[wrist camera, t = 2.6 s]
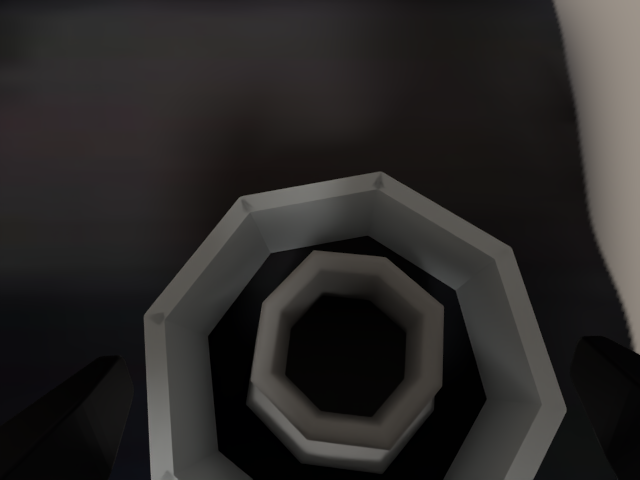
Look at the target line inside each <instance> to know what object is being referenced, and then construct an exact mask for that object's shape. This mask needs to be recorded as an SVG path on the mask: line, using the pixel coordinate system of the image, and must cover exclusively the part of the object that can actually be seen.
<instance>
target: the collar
mask: <svg viewBox="0 0 640 480" xmlns="http://www.w3.org/2000/svg"><path fill="white" fill-rule="evenodd" d="M362 236H370V237H371V238H373V239H375V240H376V241H378V242H379V243H381V244H382V245H384V246H386V247H387V248H389V249H390V250H392V251H394V252H395V253H397V254H398V255H400V256H402V257H403V258H405V259H406V260H408V261H410V262H411V263H413V264H414V265H416V266H418V267H419V268H421V269H422V270H424V271H426V272H427V273H429V274H430V275H432V276H434V277H435V278H437V279H438V280H440V281H441V282H443V283H445V284H446V285H448V286H449V287H451V288H453V289H454V290H456V293H457V297H458V300H459V304H460V307H461V311H462V314H463V318H464V321H465V325H466V328H467V332H468V335H469V339H470V342H471V346H472V349H473V353H474V356H475V360H476V363H477V367H478V370H479V374H480V377H481V381H482V384H483V388H484V391H485V394H486V398H487V400H486V402H485V404H484V406H483V407H482V409H481V411H480V413H479V415H478V417H477V418H476V420H475V422H474V424H473V426H472V428H471V429H470V431H469V433H468V435H467V437H466V439H465V440H464V442H463V444H462V446H461V448H460V450H459V451H458V453H457V455H456V457H455V459H454V461H453V462H452V464H451V466H450V468H449V470H448V472H447V473H446V475H445V477H444V479H443V480H533V479H534V477H535V475H536V473H537V471H538V469H539V466H540V464H541V462H542V460H543V458H544V456H545V454H546V452H547V450H548V448H549V446H550V444H551V442H552V440H553V438H554V436H555V434H556V432H557V430H558V428H559V426H560V424H561V422H562V420H563V418H564V415H565V413H566V409H567V408H566V405H565V402H564V400H563V397H562V394H561V391H560V388H559V385H558V382H557V379H556V376H555V373H554V370H553V367H552V364H551V361H550V358H549V356H548V353H547V350H546V347H545V344H544V341H543V338H542V335H541V332H540V329H539V326H538V323H537V320H536V317H535V315H534V312H533V309H532V306H531V303H530V300H529V297H528V294H527V291H526V288H525V285H524V282H523V279H522V276H521V274H520V271H519V268H518V265H517V262H516V259H515V256H514V253H513V250H512V248H511V247H510V246H508V245H506V244H505V243H503V242H501V241H499V240H498V239H496V238H494V237H493V236H491V235H489V234H487V233H486V232H484V231H482V230H481V229H479V228H477V227H475V226H474V225H472V224H470V223H469V222H467V221H465V220H464V219H462V218H460V217H458V216H457V215H455V214H453V213H452V212H450V211H448V210H446V209H445V208H443V207H441V206H440V205H438V204H436V203H434V202H433V201H431V200H429V199H428V198H426V197H424V196H422V195H421V194H419V193H417V192H416V191H414V190H412V189H411V188H409V187H407V186H405V185H404V184H402V183H400V182H399V181H397V180H395V179H393V178H392V177H390V176H388V175H387V174H385V173H383V172H381V171H380V172H374V173H369V174H363V175H358V176H352V177H347V178H341V179H335V180H330V181H324V182H319V183H313V184H307V185H302V186H296V187H291V188H285V189H279V190H274V191H268V192H263V193H257V194H252V195H246V196H241V197H239V199H238V200H237V201H236V202H235V204H234V205H233V206H232V207H231V208H230V210H229V211H228V212H227V213H226V215H225V216H224V217H223V218H222V220H221V221H220V222H219V223H218V224H217V226H216V227H215V228H214V229H213V231H212V232H211V233H210V234H209V236H208V237H207V238H206V239H205V241H204V242H203V243H202V244H201V245H200V247H199V248H198V249H197V250H196V252H195V253H194V254H193V255H192V257H191V258H190V259H189V260H188V261H187V263H186V264H185V265H184V266H183V268H182V269H181V270H180V271H179V273H178V274H177V275H176V276H175V278H174V279H173V280H172V281H171V282H170V284H169V285H168V286H167V287H166V289H165V290H164V291H163V292H162V294H161V295H160V296H159V297H158V298H157V300H156V301H155V302H154V303H153V305H152V306H151V307H150V308H149V310H148V311H147V312H146V313H145V316H144V331H145V353H146V375H147V397H148V420H149V442H150V464H151V480H253V479H252V478H251V477H250V476H248V475H247V474H246V473H245V472H243V471H242V470H241V469H240V468H239V467H237V466H236V465H235V464H234V463H233V462H231V461H230V460H229V459H228V458H226V457H225V456H224V455H223V454H222V453H220V452H219V451H218V442H217V431H216V420H215V409H214V398H213V387H212V376H211V366H210V355H209V344H208V335H209V334H210V333H211V331H212V330H213V329H214V328H215V326H216V325H217V324H218V322H219V321H220V320H221V318H222V317H223V316H224V314H225V313H226V312H227V310H228V309H229V308H230V306H231V305H232V304H233V302H234V301H235V300H236V298H237V297H238V296H239V294H240V293H241V292H242V291H243V289H244V288H245V287H246V285H247V284H248V283H249V281H250V280H251V279H252V277H253V276H254V275H255V273H256V272H257V271H258V269H259V268H260V267H261V265H262V264H263V263H264V261H265V260H266V259H267V257H268V256H269V255H270V253H275V252H280V251H286V250H291V249H297V248H302V247H307V246H313V245H318V244H324V243H329V242H335V241H340V240H346V239H351V238H357V237H362ZM510 248H511V249H510Z"/></svg>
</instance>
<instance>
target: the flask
mask: <svg viewBox="0 0 640 480" xmlns="http://www.w3.org/2000/svg"><path fill="white" fill-rule="evenodd" d="M443 325H444V306H443V305H441V304H440V303H439V302H438V301H437V300H436V299H434V298H433V297H432V296H431V295H430V294H429V293H427V292H426V291H425V290H424V289H423V288H421V287H420V286H419V285H418V284H417V283H416V282H414V281H413V280H412V279H411V278H410V277H409V276H407V275H406V274H405V273H404V272H403V271H401V270H400V269H399V268H398V267H397V266H396V265H394V264H393V263H392V262H391V261H390V260H389V259H387V258H386V257H379V256H368V255H358V254H347V253H337V252H326V251H316V250H313V251H312V252H311V253H310V255H309V256H308V257H307V258H306V259H305V260H304V261H303V262H302V263H301V264H300V265H299V266H298V267H297V268H296V269H295V270H294V271H293V272H292V273H291V274H290V275H289V276H288V277H287V278H286V279H285V280H284V281H283V282H282V283H281V284H280V285H279V286H278V287H277V288H276V289H275V290H274V291H273V292H272V293H271V294H270V295H269V296H268V297H267V299H266V300H265V301H264V302H263V303H262V309H261V315H260V321H259V325H258V328H257V335H256V341H255V348H254V354H253V360H252V367H251V373H250V380H249V386H248V393H247V399H246V405H247V406H248V407H249V408H250V409H251V410H252V411H253V412H254V413H255V414H256V416H257V417H258V418H259V419H260V420H261V421H262V422H263V423H264V424H265V425H266V426H267V427H268V428H269V429H270V431H271V432H272V433H273V434H274V435H275V436H276V437H277V438H278V439H279V440H280V441H281V442H282V443H283V444H284V446H285V447H286V448H287V449H288V450H289V451H290V452H291V453H292V454H293V455H294V456H295V457H296V458H297V459H298V461H299V462H300V463H302V464H309V465H317V466H324V467H332V468H340V469H347V470H355V471H362V472H370V473H378V474H383V473H384V472H385V470H386V469H387V468H388V467H389V465H390V464H391V463H392V462H393V460H394V459H395V458H396V457H397V455H398V454H399V453H400V452H401V450H402V449H403V448H404V447H405V446H406V444H407V443H408V442H409V441H410V439H411V438H412V437H413V436H414V434H415V433H416V432H417V431H418V429H419V428H420V427H421V426H422V424H423V423H424V422H425V421H426V419H427V418H428V417H429V416H430V415H431V413H432V412H433V411H434V396H435V395H436V393H437V392H438V391H439V390H440V388H441V387H442V373H443Z"/></svg>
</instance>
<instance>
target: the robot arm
mask: <svg viewBox="0 0 640 480" xmlns="http://www.w3.org/2000/svg"><path fill="white" fill-rule="evenodd" d="M570 376H571V380H572V383H573V385H574V387H575V389H576V392H577V394H578V396H579V399H580V401H581V403H582V405H583V408H584V410H585V412H586V414H587V417H588V419H589V421H590V423H591V426H592V428H593V430H594V433H595V435H596V437H597V439H598V442H599V444H600V446H601V448H602V450H603V452H604V454H605V456H606V458H607V460H608V462H609V464H610V466H611V467H612V469H613V471H614V473H615V475H616V476H617V478H618V480H640V355H639V354H637V353H635V352H634V351H632V350H630V349H628V348H626V347H624V346H622V345H620V344H618V343H616V342H614V341H613V340H611V339H609V338H607V337H604V336H584V337H581V338H580V339H579V340H578V342H577V345H576V349H575V352H574V356H573V359H572V363H571V367H570ZM133 394H134V388H133V383H132V380H131V377H130V374H129V371H128V368H127V365H126V362H125V360H124V358H123V357H122V356H118V355H115V356H101V357H99V358H97V359H96V360H94V361H93V362H91V363H90V364H88V365H87V366H86V367H84V368H83V369H81V370H80V371H78V372H77V373H76V374H74V375H73V376H71V377H70V378H68V379H67V380H66V381H64V382H63V383H61V384H60V385H58V386H57V387H56V388H54V389H53V390H51V391H50V392H48V393H47V394H46V395H44V396H43V397H41V398H40V399H38V400H37V401H36V402H34V403H33V404H31V405H30V406H28V407H27V408H26V409H24V410H23V411H21V412H20V413H18V414H17V415H16V416H14V417H13V418H11V419H10V420H8V421H7V422H5V423H4V424H3V425H1V426H0V480H108V479H109V477H110V474H111V471H112V468H113V465H114V462H115V458H116V455H117V451H118V448H119V444H120V441H121V437H122V434H123V430H124V427H125V423H126V420H127V417H128V413H129V410H130V406H131V403H132V399H133Z"/></svg>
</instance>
